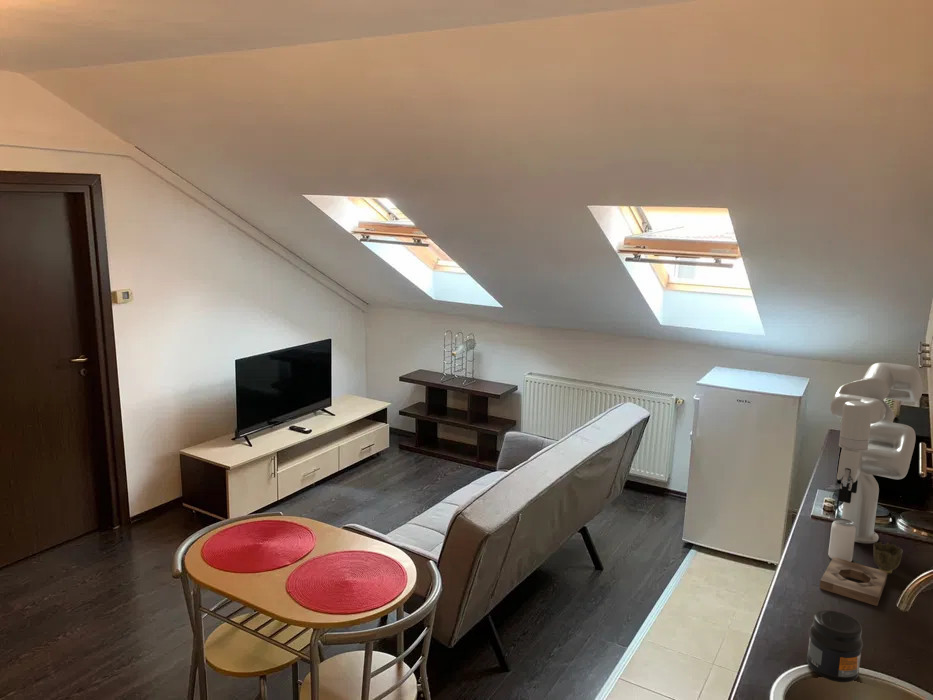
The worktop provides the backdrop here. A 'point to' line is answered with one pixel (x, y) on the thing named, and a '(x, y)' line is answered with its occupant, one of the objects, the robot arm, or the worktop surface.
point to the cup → (887, 556)
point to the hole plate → (859, 591)
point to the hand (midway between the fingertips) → (847, 496)
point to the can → (842, 539)
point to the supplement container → (835, 646)
